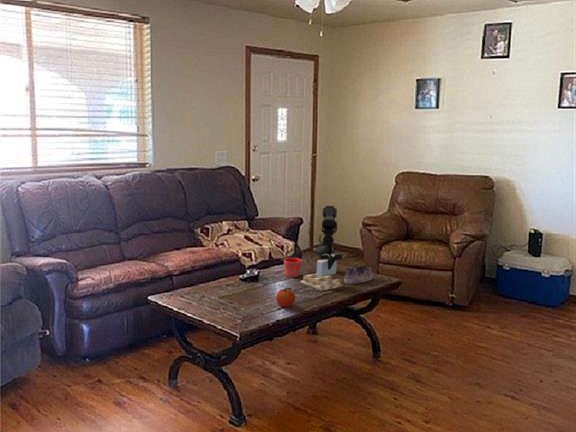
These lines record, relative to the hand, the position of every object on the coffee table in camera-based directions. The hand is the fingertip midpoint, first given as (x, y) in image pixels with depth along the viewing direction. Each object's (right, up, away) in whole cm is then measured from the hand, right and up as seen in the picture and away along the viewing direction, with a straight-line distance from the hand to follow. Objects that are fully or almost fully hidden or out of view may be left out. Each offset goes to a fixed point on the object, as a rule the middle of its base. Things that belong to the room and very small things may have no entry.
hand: (326, 268), depth 331 cm
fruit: (-23, -16, -34) cm, 44 cm away
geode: (+19, -9, +14) cm, 25 cm away
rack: (-3, -9, +5) cm, 11 cm away
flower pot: (-19, -6, +19) cm, 28 cm away
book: (0, -3, +1) cm, 3 cm away
